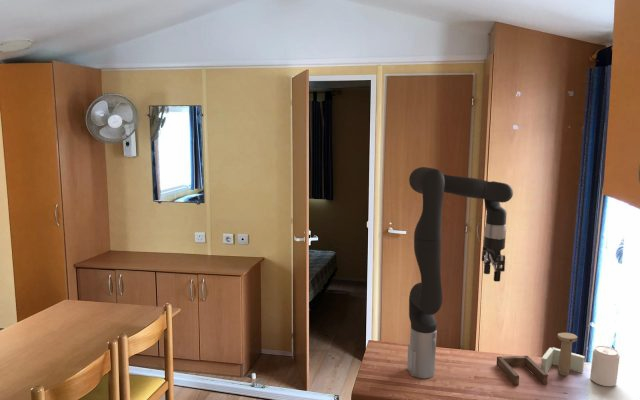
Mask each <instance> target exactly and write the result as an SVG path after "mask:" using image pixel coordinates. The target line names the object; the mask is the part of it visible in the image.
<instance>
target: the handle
mask: <svg viewBox="0 0 640 400" xmlns="http://www.w3.org/2000/svg"><path fill="white" fill-rule="evenodd" d="M557 338H558V340H559V341H561V345H560V349H561V350H560V355H559V366H558V374H560V376H564V377H567V376H569V373H570V371H571V370H570V366H571V353H572V350H573V349H572V345H573V343H574V342H577V341H578V336H577V335H576V334H574V333H572V332H559V333H557Z"/></svg>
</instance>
